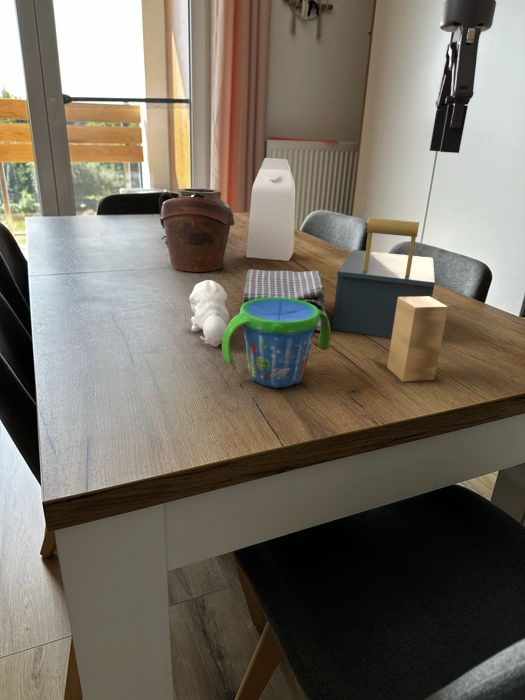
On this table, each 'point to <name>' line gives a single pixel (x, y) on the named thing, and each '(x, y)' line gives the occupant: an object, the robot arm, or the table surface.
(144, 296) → the table surface
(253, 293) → the towel
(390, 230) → the chest lid
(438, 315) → the beech block
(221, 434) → the table surface
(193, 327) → the white animal figurine
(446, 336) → the table surface
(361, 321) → the chest
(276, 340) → the snack cup
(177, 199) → the brown pot
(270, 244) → the milk
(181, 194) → the mug
